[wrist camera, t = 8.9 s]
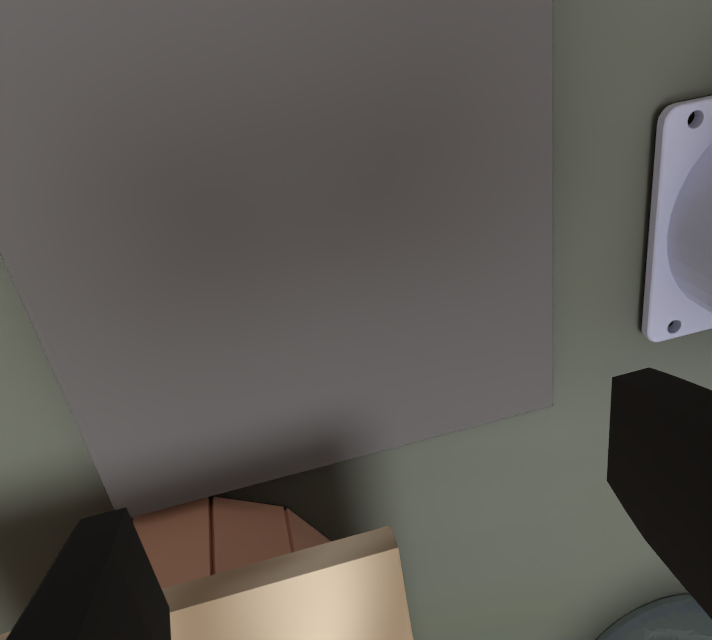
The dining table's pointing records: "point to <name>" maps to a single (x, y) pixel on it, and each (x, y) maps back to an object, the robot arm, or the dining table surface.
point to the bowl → (219, 537)
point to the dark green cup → (663, 622)
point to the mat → (278, 226)
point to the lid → (300, 596)
